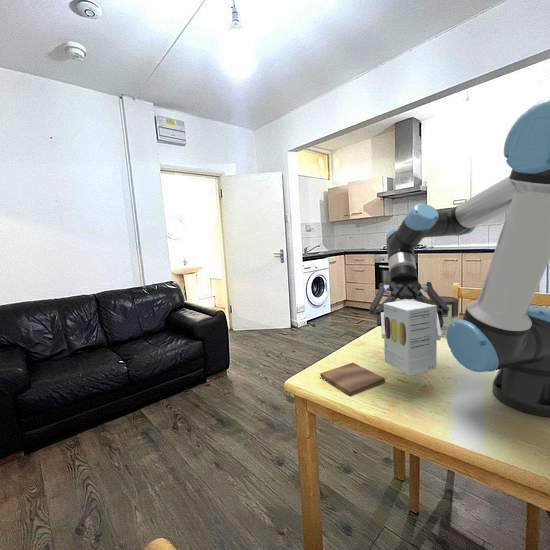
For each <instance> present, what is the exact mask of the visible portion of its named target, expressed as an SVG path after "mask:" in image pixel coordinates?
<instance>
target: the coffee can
mask: <svg viewBox="0 0 550 550" xmlns="http://www.w3.org/2000/svg"><path fill="white" fill-rule="evenodd" d="M439 296H440V295H439ZM440 298H441V299H442V300H443V301H444V303H445V304H446V305H447V306H448V307H449V311H448V314H447V315H443V321H444V324H443V327H440V329H441V334H442V336H441V338H444V337H445V338H447V337H446V334H447V329H448V326H449V325H450V324H451V323H452V322H454V321H456V320H458V319H459V302H460V299H459V298H457V297H453V296H443V295H441V296H440ZM428 299H429V300H430V301H431V302H433V301H432V300H431V298H430V297H428ZM433 303H434V302H433Z"/></svg>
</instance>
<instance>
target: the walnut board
mask: <svg viewBox="0 0 550 550" xmlns="http://www.w3.org/2000/svg"><path fill="white" fill-rule="evenodd" d="M320 376H321V377H322V378H321V377H320V378H321V379H323V378H324V379H325V380H324V379H323V380H324V381H326V380H327V381H328V382H327V381H326V382H327V383H329V382H330V383H331V384H330V383H329V384H330V385H332V386H333V387H336V388H337V389H338V390H340V391H341V392H343V393H345V394H346V395H348V396H349V397H352V396H355V395H356V394H359V393H361V392H364V391H367V390H369V389H372V388H375V387H376V386H379V385H382V384H385V383H386V378H385V377H383V376H381V375H379V374H377V373H375V372H373V371H371V370H369V369H367V368H365V367H363V366H361V365H359V364H357V363H355V362H350V363H348V364H345V365H341V366H339V367H335V368H333V369H329V370H326V371H323V372H320Z"/></svg>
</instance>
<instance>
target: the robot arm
mask: <svg viewBox="0 0 550 550" xmlns="http://www.w3.org/2000/svg"><path fill="white" fill-rule="evenodd" d="M503 145H504V146H503V156H504V158H505V159H506V160H505V162H506V164H507V165H508V166H509V167H510V168H511V171H510V174H509V175H508V176H507V177H505V178H504V179H501V180H500V181H498V182H496V183H494V184H493V185H490V187H488V188H485V189H484V190H483V191H481V192H479V193H477V194H475V195H474V196H472V197H470V198H469V199H467V200H465V201H464V202H461V203H460V204H458V205H456V206H454V207H453V208H451V209H448V210H447V209H446V210H437V209H436V208H435V207H434V206H432V205H430V204H426V203H423V202H421V203H417V204H415V205H413V207H412V208H411V209H410V210H409V211H408V213H407V214H406V215H405V217H404V219H403V220H402V222H401V223H400V225H399V226H398V227H395V228H393V229H391V230H389V232H388V233H387V235H386V242H385V243H386V244H385V245H386V252H387V260H388V270H389V271H388V272H389V284H384V283H383V282H380V283H379V285H378V287H379V288H378V291H377V293H376V295H375V297H374V298H373V300H372V302H371V304H370V306H369V310H368V311H369V315H374V316H375V317H376V318H375V319H376V325H377V327H380V328H381V329H380V330H381V339H382V340H384V339H385V323H384V303H389V302H396V300H398V299H399V300H409V299H410V300H414V301H418V302H422V303H426V304H430V305H436V306H437V338H436V341H441V339H442V337H441V336H442V334H441V329H440V327H443V324H444V321H443V315H447V314H448V311H449V307H448V306H447V305H446V304H445V303H444V301H443V300H442V299H441V298H440V295H439V294H438V293H437V292H436V290H435V289H434V287H433V284H432V283H431V282H430V281H427V282H426V283H425V284H424V283H422V284H421V283H420V281H419V277H418V272H417V264H416V260H415V259H416V258H415V257H416V256H415V251H414V250H415V249H416V247H417V246H418V245H420V243H421V241H422V240H423V239H425V238H435V237H448V236H449V237H451V236H452V237H455V236H458V237H459V236H463V235H468V234H470V233H472V232H473V231H474V230H475V229H476V227H477V226H479V225H481V224H483V223H485V222H487V221H490V220H492V219H493V220H494V219H495V218H496V217H499V216H501V215H503V214H505V213H507V214H506V216H505V218H504V221H503V226H502V228H501V231H500V234H499V237H498V239H497V243H496V245H495V248H494V252H493V255H492V257H491V261H490V263H489V267H488V269H487V272H486V275H485V278H484V281H483V284H482V287H481V290H480V293H479V295H478V299H475V300H471V301H470V302H468V304H467V306H466V309H465V311H464V314H463V318H462V319H460V318H458V320H456V321H454V322H452V323H451V324H450V325H449V326H448V329H447V334H446V337H445V338H446V342H447V345H448V348H449V349H450V352H451V354H452V355H453V357H454V359H455V360H456V361H457V362H458V363H459V364H460V365H462V366H463V367H464V368H466V370H469V371H471V372H474V373H485V372H486V373H487V372H488V373H489V372H492V373H493V372H495V371H497V374H496V375H495V378H494V379H493V382H492V393H493V395H494V397H496V398H497V399H498V400H499V401H500V402H502V404H505V405H506V406H509V407H511V408H513V409H515V410H518V411H521V412H524V413H527V414H531V415H535V416H540V417H547V418H548V417H549V418H550V307H548V306H541V305H534V304H532V302H533V299H534V296H535V294H536V292H537V290H538V287H540V286H539V285H540V284H541V281H542V278H543V276H544V274H545V271H546V269H547V267H548V264H549V263H550V96H548V97H547V98H544V99H542V100H539V101H538V102H537V103H535V104H533V105H532V106H530V108H528V109H527V110H526V111H524V112H523V113H522V114H521V115H520V116H519V117H518V118H517V120H515V122H514V123H513V125H512V126H511V127H510V129H509V131H508V133H507V135H506V138H505V141H504V144H503ZM388 290H389V291H390V292H391V293H390V294H389V295H388V296H387V297H386V299H385V300H384V301H383V302H381V301H382V298H383V296H384V294H385V293H386V292H387V291H388ZM421 290H423V292H422V291H421ZM423 293H426V294H427V296H428V297H426V295H424V294H423ZM429 298H431V300H432V301H433V302H434V303H433V302H431V301H430V300H429ZM380 303H381V304H380ZM379 304H380V305H379Z"/></svg>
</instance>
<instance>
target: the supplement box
mask: <svg viewBox="0 0 550 550" xmlns="http://www.w3.org/2000/svg"><path fill="white" fill-rule="evenodd" d="M384 323H385V339H383V341H384V343H383V344H384V345H383V346H384V349H383V351H384V363H386V364H388V365H389V366H390V367H392V368H395V369H396V370H398V371H400V372H401V373H402V374H405V375H406V376H412V375H415V374H416V375H417V374H420V373H424V372H428V371H433V370H435V369H437V344H438V343H437V341H438V340H437V339H436V338H437V306H436V305H430V304H426V303H422V302H418V301H416V300H415V299H401V300H398V301H396V300H395V301H394V302H389V303H384Z"/></svg>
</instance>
